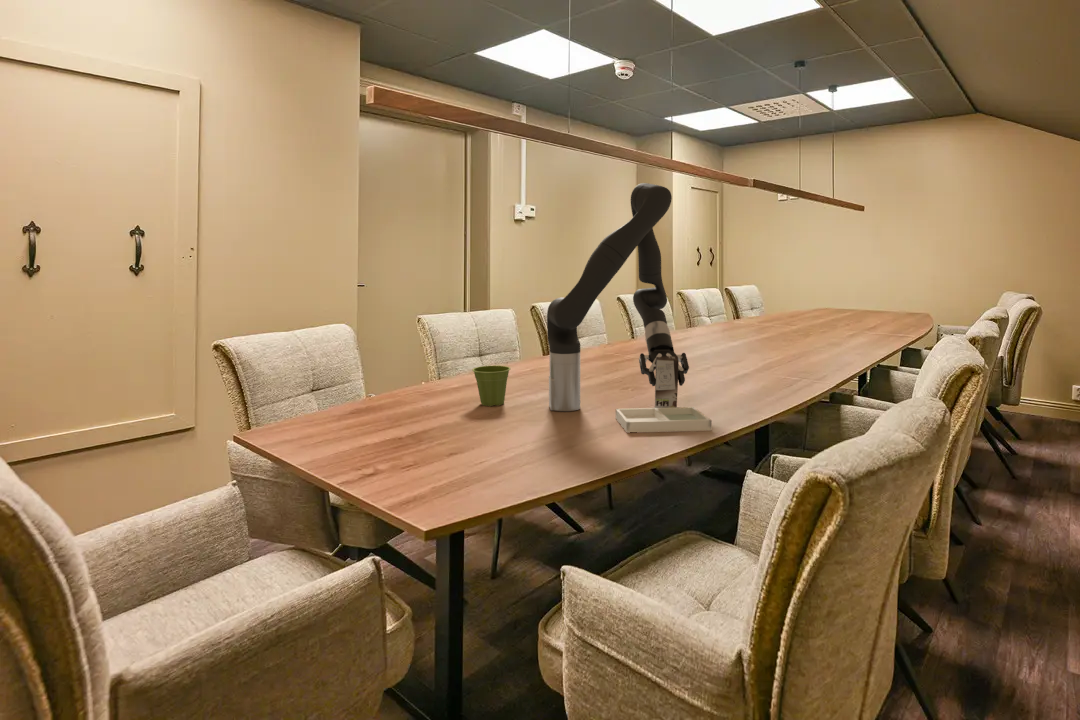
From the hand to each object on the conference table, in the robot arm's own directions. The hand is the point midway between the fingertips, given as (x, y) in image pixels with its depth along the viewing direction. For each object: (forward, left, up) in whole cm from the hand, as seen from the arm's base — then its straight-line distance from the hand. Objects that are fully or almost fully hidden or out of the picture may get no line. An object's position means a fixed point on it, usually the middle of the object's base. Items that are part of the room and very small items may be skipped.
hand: (668, 384), depth 177 cm
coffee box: (0, +2, -9) cm, 9 cm away
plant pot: (-51, +17, -9) cm, 54 cm away
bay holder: (-5, -12, -9) cm, 15 cm away
